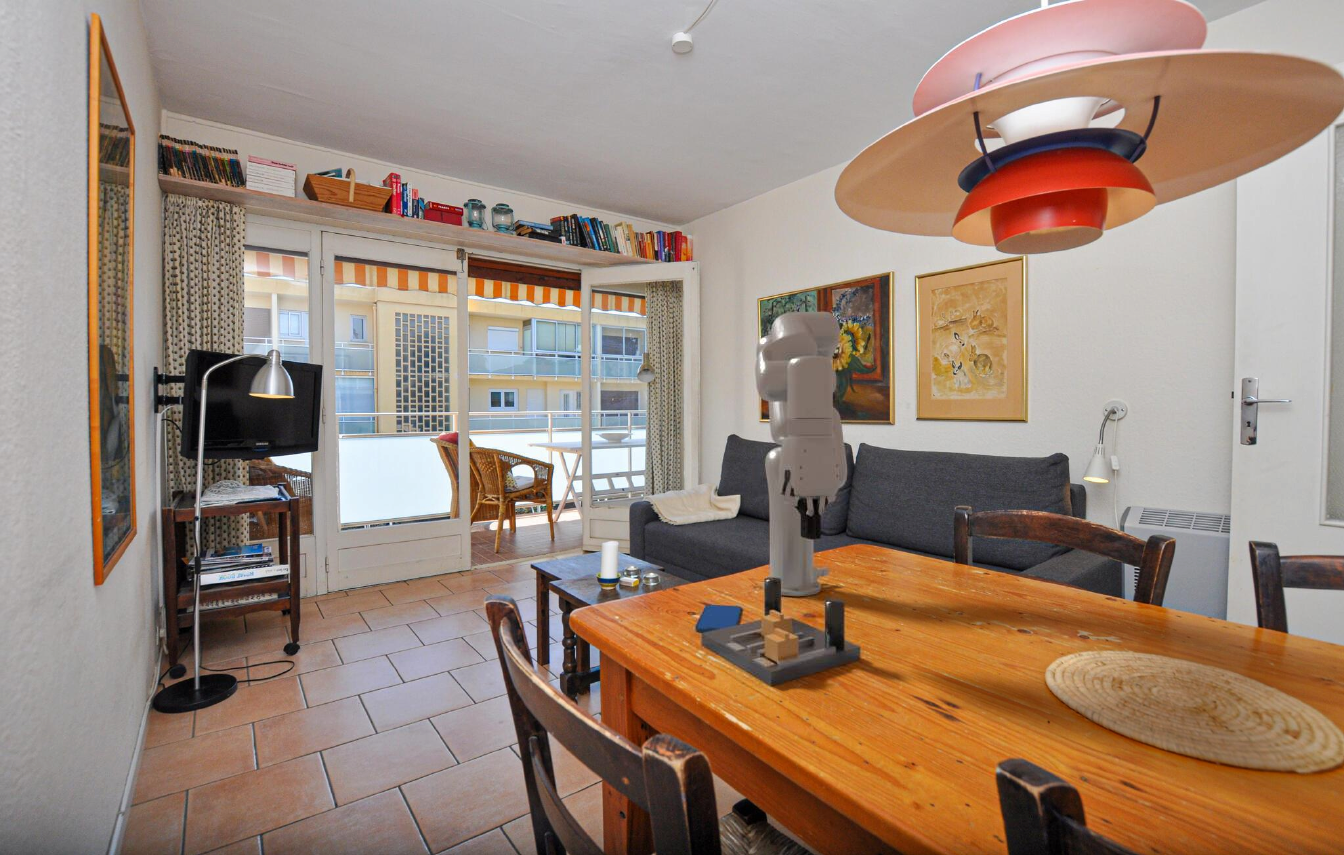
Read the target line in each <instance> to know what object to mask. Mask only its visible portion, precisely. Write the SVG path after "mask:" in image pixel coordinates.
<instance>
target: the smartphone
mask: <svg viewBox="0 0 1344 855" xmlns="http://www.w3.org/2000/svg"><path fill="white" fill-rule="evenodd" d="M742 610H743V608H742V606H738V605H725V604H724V605H723V604H706V605H705V606H704V607H703V610H702V612H701V615H700V616H699V619H698V620H697V622H696V625H695V629H694V630H695V632H697V633H705V632H709V631H713V630H718V629H722V628H727V627H731V626H736V625H739V622H740V618H741V614H742Z"/></svg>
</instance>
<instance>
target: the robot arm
mask: <svg viewBox="0 0 1344 855" xmlns="http://www.w3.org/2000/svg"><path fill="white" fill-rule="evenodd" d="M770 333H771V334H768V335H765V336H763V337H761V338H760V339H759V341H757V344H756V351H755V352H756V353H755V354H756V360H755V361H756V362H755V368H754V369H755V374H754V375H755V386H756V390H757V394H758V396H759V397H760V398H761V399H762V400H764V401H766V402H768V415H769V428H770V429H769V430H770V434H771V435H770V436H771V438H772V441H773V442H774V443H775V444H776V445H778V446H777V447H775V448H773V449H771V450H769V451H768V453H767V454H766V457H765V461H764V462H765V466H764V467H765V474H766V480H767V481H766V482H767V488H768V500H769V501H768V502H769V503H768V505H769V577H775V578H780V579H781V596H784V597H786V596H787V597H807V596H812V595H813V596H814V595H816V594H818V593H819V592H821V590H822V584H821V583H820V582H819V581H818V579H819V578H820V577H821V578H822V577H827V576H828V575H830V570H829V568H828V567H827V566H824V567H819V568H818V567H817V566H814V564H815V561H814V540H821V538H822V535H821V534H822V532H821V531H822V530H821V528H822V524H821V523H822V521H821V520H822V519H821V518H822V516H823V514H824V513H825V508H826V507H827V505H828V504H830V503H832V502H835V501H836V499H837V496H836V494H837V492H838V491H839V489H840V488H842V487H843V486H844V485H845V484H846V481H847V478H848V477H847V476H848V464H847V457H846V456H847V455H846V448H845V440H844V433H843V432H844V431H843V425H842V419H841V415H840V412H839V411H838V410H837V409H836V407H834V406H833V405H834V404H833V402H834V398H833V396H834V395H833V394H834V393H835V392H836V388H837V374H836V371H835V369H834V368H833V362H832V358H833V357H834V354H835V352H836V350H837V348H838V347H839V343H840V337H841V329H840V323H839V321H838V318H836V316H835V314H833V313H831V312H828V311H798V312H797V311H796V312H795V311H794V312H786V313H782V314H781V315H780V316H779V315H778V317H777V318H775V320H774V321H773V323H772V324H771V329H770ZM762 587H763V589H764V581H763V582H762Z"/></svg>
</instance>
